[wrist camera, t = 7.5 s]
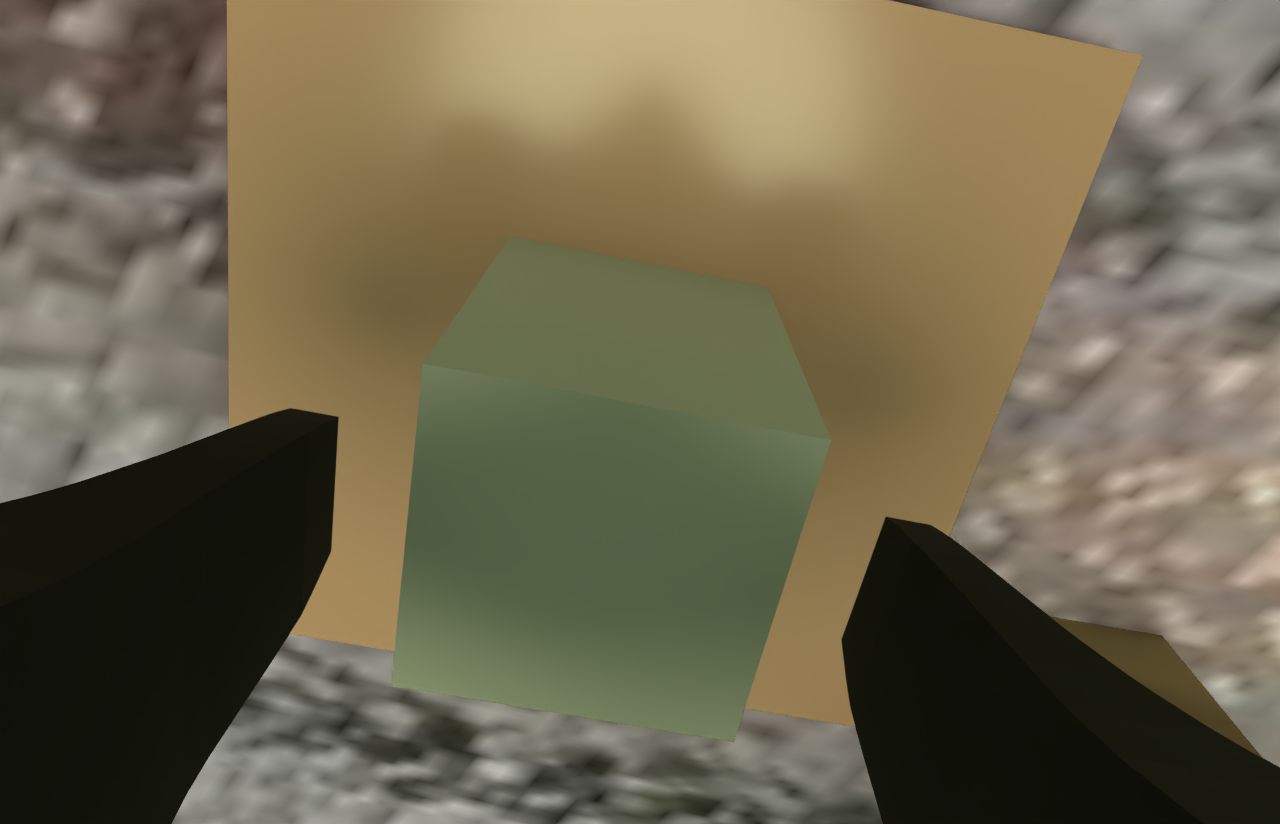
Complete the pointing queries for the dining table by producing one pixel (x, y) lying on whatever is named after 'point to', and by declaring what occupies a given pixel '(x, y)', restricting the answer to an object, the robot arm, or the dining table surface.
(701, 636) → the sage block
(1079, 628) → the walnut block
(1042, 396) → the dining table surface
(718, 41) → the tan flat square slab
